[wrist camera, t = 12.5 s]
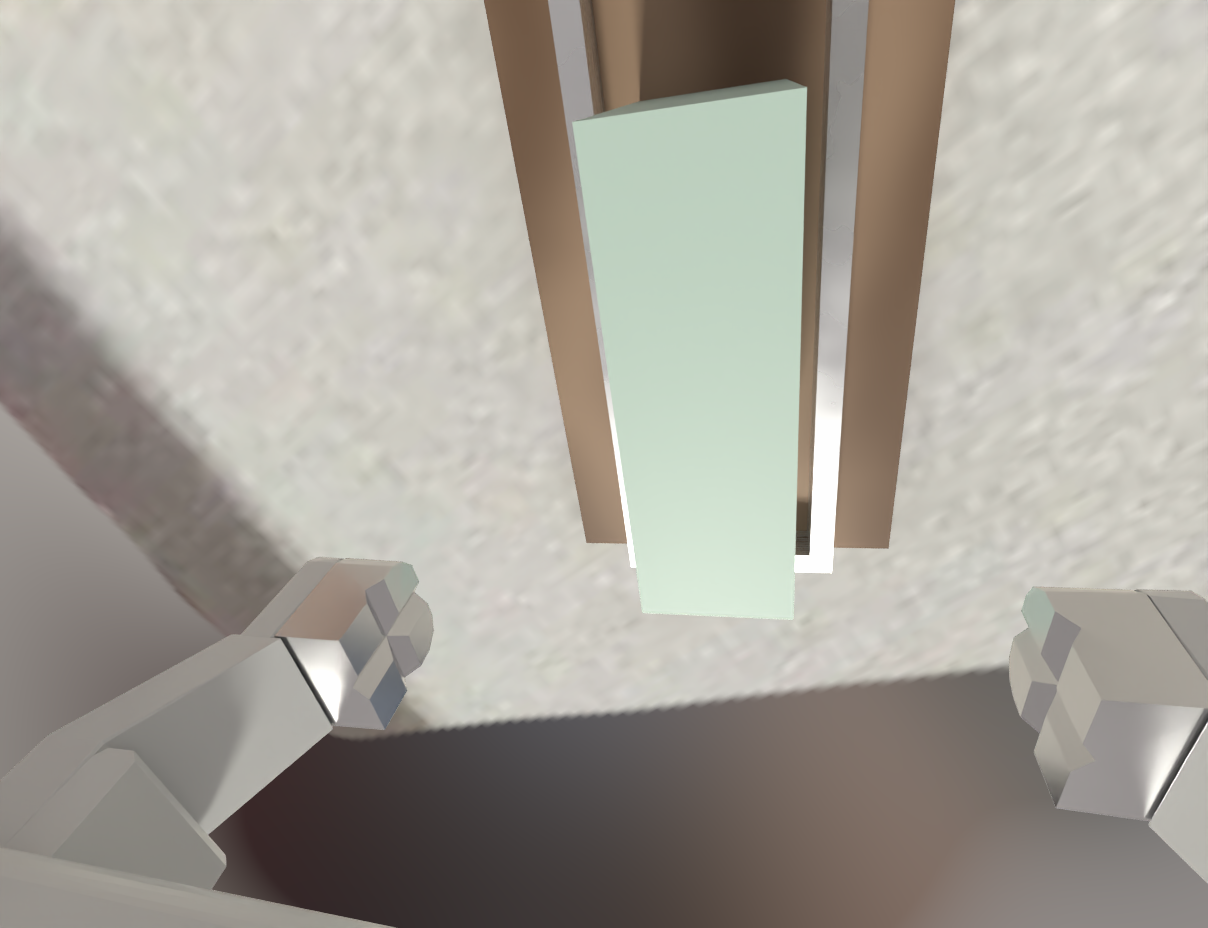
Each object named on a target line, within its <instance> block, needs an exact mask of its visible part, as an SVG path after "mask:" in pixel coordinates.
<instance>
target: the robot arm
mask: <svg viewBox="0 0 1208 928" xmlns="http://www.w3.org/2000/svg"><path fill="white" fill-rule="evenodd" d="M418 583H419V580H418V578H417V576H416V574H415V571H414V569H413V567H412V565H410V564H407V563H404V562H399V561H384V560H369V559H353V558H346V559H341V558H328V557H317V558H315V559H312V560H310V561H307V562H306V563H305V565H304V566H303V567H302V568H301V569H300V570H299V571H298V572H297V573H296V575H295V576H294V577H293V578H292V579H291V580H290V581H289V582H288V583H287V584H286V586H285V587H284V588H283V589H282V590H281V591H280V592H279V593H278V594H277V595H276V597H275V598H274V599H273V600H272V601H271V602H270V603H269V604H268V605H267V606H266V608H265V609H264V610H263V611H262V612H261V613H260V614H259V615H258V616H257V617H256V619H255V620H254V621H253V622H252V623H251V624H250V625H249V626H248V627H247V628H246V630H245V631H244V632H243V633H242V634H241V635H230V636H228V637H226V638H224V639H223V640H221V641H219V642H217V643H215V644H213V645H212V646H210V647H208V648H206V649H204V650H203V651H201V652H199V653H197V654H195V655H193V656H192V657H190V658H188V659H186V660H184V661H182V662H181V663H179V664H177V665H175V666H173V667H171V668H170V669H168V670H166V671H164V672H162V673H161V674H159V675H157V676H155V677H153V678H152V679H150V680H148V681H146V682H144V683H142V684H141V685H139V686H137V687H135V688H133V689H131V690H130V691H128V692H126V693H124V694H122V695H121V696H119V697H117V698H115V699H113V700H111V701H110V702H108V703H106V704H104V705H102V706H100V707H99V708H97V709H95V710H93V711H92V712H90V713H88V714H86V715H84V716H82V717H80V718H78V719H77V720H75V721H73V722H71V723H69V724H67V725H66V726H64V727H62V728H60V729H58V730H57V731H55V732H53V733H51V734H50V735H48V736H47V737H46V738H45V739H43V740H42V741H41V742H40V743H39V744H38V745H37V746H36V747H35V748H34V749H33V750H32V751H31V752H30V753H29V754H28V755H27V756H26V757H24V758H23V760H21V761H20V762H19V763H18V764H17V765H16V766H15V767H14V768H13V769H12V770H11V771H10V772H9V773H8V774H7V775H6V776H5V777H4V778H2V780H0V928H394V927H390V926H385V925H380V924H375V923H370V922H365V921H360V920H355V919H351V918H346V917H341V916H336V915H331V914H326V913H321V912H316V911H312V910H306V909H302V908H297V907H292V906H287V905H283V904H278V903H273V902H267V901H263V900H258V899H253V898H248V897H244V896H239V895H234V894H229V893H224V892H219V891H214V890H211V889H212V888H213V886H214V885H215V883H216V881H217V880H218V878H219V877H220V875H221V874H222V872H223V870H224V869H225V867H226V855H225V854H224V853H223V852H222V851H221V849H220V848H219V847H218V846H217V845H216V844H215V843H214V841H213V840H212V839H211V838H210V837H209V836H208V834H209V833H210V832H212V831H213V830H214V829H215V828H216V827H217V826H219V825H220V824H221V823H222V822H223V821H224V820H226V819H227V818H228V817H229V816H231V815H232V814H233V813H234V812H235V811H236V810H238V809H239V808H240V807H241V806H242V805H244V804H245V803H246V802H247V801H248V800H249V799H251V798H252V797H253V796H254V795H255V794H256V793H258V792H259V791H260V790H261V789H262V788H264V787H265V786H266V785H267V784H268V783H270V782H271V781H272V780H273V779H274V778H275V777H276V776H278V775H279V774H280V773H281V772H282V771H284V770H285V769H286V768H287V767H288V766H290V765H291V764H292V763H293V762H294V761H295V760H297V759H298V758H299V757H300V756H301V755H303V754H304V753H305V752H306V751H307V750H308V749H310V748H311V747H312V746H313V745H314V744H315V743H317V742H318V741H319V740H320V739H321V738H323V737H324V736H325V735H326V734H327V733H329V732H330V731H331V730H332V729H333V727H332V725H333V726H345V727H357V728H369V729H381V730H385V729H386V727H387V725H388V724H389V722H390V720H391V718H392V716H393V715H394V713H395V711H396V709H397V708H398V706H399V704H400V702H401V701H402V699H403V697H404V695H405V693H406V692H407V687H406V681H405V677H406V676H407V675H409V674H410V673H411V672H413V671H414V670H416V669H417V668H418V667H420V666H421V665H422V663H423V661H424V659H425V657H426V655H427V654H428V652H429V650H430V645H431V641H432V636H433V631H434V629H433V618H432V614H431V611H430V608H429V606H428V603H426V602H425V601H424V600H423V599H422V598H421V597H420V596H418V595H417V594H416V593H415V590H416V587H417V585H418ZM1022 613H1023V615H1024V618H1025V620H1026V622H1027V624H1028V627H1029V628H1027V629H1026V630H1024V631H1023V632H1021V633H1020V634H1018V635H1017V636H1015V637H1014V639H1013V643H1012V647H1011V651H1010V656H1009V678H1010V684H1011V689H1012V694H1013V698H1014V701H1015V703H1016V706H1017V709H1018V712H1019V714H1020V717H1021V718H1023V720H1025V721H1026V722H1027V723H1028V724H1029V725H1030V726H1032V727H1033V728H1034V729H1035V730H1036V731H1038V732H1039V733H1040V735H1039V738H1038V741H1037V744H1036V747H1035V750H1034V754H1035V756H1036V759H1037V761H1038V764H1039V766H1040V769H1041V771H1042V774H1043V777H1044V779H1045V782H1046V784H1047V787H1048V789H1049V792H1050V795H1051V797H1052V800H1053V802H1054V804H1055V807H1056V808H1059V809H1066V810H1073V811H1080V812H1087V813H1094V814H1101V815H1108V816H1115V817H1123V818H1130V819H1137V820H1144V821H1150V823H1149V826H1150V827H1151V828H1152V829H1153V830H1154V831H1155V832H1156V833H1157V834H1158V835H1159V836H1160V837H1161V838H1162V839H1163V840H1164V841H1165V842H1166V843H1167V844H1168V845H1169V846H1170V847H1171V848H1172V849H1173V850H1174V851H1175V852H1176V853H1177V854H1178V855H1179V856H1180V857H1181V858H1182V859H1183V860H1184V861H1185V862H1186V863H1187V864H1188V865H1189V866H1190V867H1192V869H1193V870H1194V871H1195V872H1197V873H1198V875H1200V876H1201V877H1202V878H1203V879H1204V880H1205V881H1206V882H1207V883H1208V602H1207V601H1206V600H1205V599H1204V598H1203V597H1201V596H1200V595H1198V594H1196V593H1194V592H1193V591H1180V590H1141V589H1137V590H1134V591H1133V590H1123V589H1093V588H1062V587H1033V588H1032V589H1031V590H1030V591H1029V592H1028V594H1027V595H1026V598H1025V601H1024V604H1023V607H1022Z"/></svg>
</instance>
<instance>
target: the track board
mask: <svg viewBox="0 0 1208 928" xmlns="http://www.w3.org/2000/svg"><path fill="white" fill-rule="evenodd" d="M826 2H827V0H592V8H593V16H594V25H595V33H596V42H597V50H598V59H599V67H600V76H601V84H602V92H603V101H604V109H605V112H606V111H609V110H613V109H616V108H619V107H622V106H626V105H629V104H632V103H635V102H638V101H644V100H651V99H657V98H664V97H670V96H677V95H683V94H690V93H696V92H703V91H710V90H716V89H723V88H729V87H736V86H742V85H749V84H756V83H762V82H769V81H775V80H782V79H788V80H790V81H793V82H795V83H798V84H800V85H803V86H805V87H807V110H806V150H805V189H804V229H803V269H802V309H801V349H800V388H799V428H798V468H797V508H796V531H807V517H808V490H809V463H810V436H811V409H812V382H813V355H814V328H815V301H816V273H817V246H818V219H819V192H820V165H821V138H822V111H823V84H824V56H825V29H826ZM484 3H485V8H486V14H487V19H488V24H489V30H490V35H491V40H492V45H493V51H494V56H495V61H496V67H497V72H498V77H499V82H500V88H501V93H502V98H503V104H504V109H505V114H506V119H507V125H508V130H509V135H510V141H511V146H512V151H513V156H514V162H515V167H516V172H517V177H518V183H519V188H520V193H521V199H522V204H523V209H524V214H525V220H526V225H527V230H528V236H529V241H530V246H531V251H532V257H533V262H534V267H535V273H536V278H537V283H538V288H539V294H540V299H541V304H542V310H543V315H544V320H545V325H546V331H547V336H548V341H549V347H550V352H551V357H552V362H553V368H554V373H555V378H556V383H557V389H558V394H559V399H560V405H561V410H562V415H563V420H564V426H565V431H566V436H567V442H568V447H569V452H570V457H571V463H572V468H573V473H574V479H575V484H576V489H577V494H578V500H579V505H580V510H581V516H582V521H583V526H584V531H585V537H586V542H587V543H626V544H628V541H627V534H626V528H625V521H624V514H623V507H622V500H621V494H620V487H619V480H618V473H617V466H616V460H615V453H614V446H613V439H612V432H611V426H610V419H609V412H608V405H607V398H606V392H605V385H604V378H603V371H602V364H601V358H600V351H599V344H598V337H597V330H596V324H595V317H594V310H593V303H592V297H591V290H590V283H589V276H588V269H587V263H586V256H585V249H584V242H583V235H582V229H581V222H580V215H579V208H578V201H577V195H576V188H575V181H574V174H573V167H572V161H571V154H570V147H569V140H568V133H567V127H566V120H565V113H564V106H563V99H562V93H561V86H560V79H559V72H558V65H557V59H556V52H555V45H554V38H553V31H552V25H551V18H550V11H549V4H548V0H484ZM954 5H955V0H869V6H868V22H867V37H866V52H865V68H864V83H863V99H862V114H861V130H860V145H859V160H858V176H857V191H856V207H855V222H854V238H853V253H852V268H851V284H850V299H849V315H848V330H847V346H846V361H845V376H844V392H843V407H842V423H841V438H840V454H839V469H838V484H837V500H836V515H835V531H834V546H833V547H836V548H889V539H890V531H891V523H892V515H893V506H894V498H895V490H896V482H897V474H898V465H899V457H900V449H901V441H902V433H903V424H904V416H905V408H906V400H907V391H908V383H909V375H910V367H911V359H912V350H913V342H914V334H915V326H916V318H917V309H918V301H919V293H920V285H921V277H922V268H923V260H924V252H925V244H926V235H927V227H928V219H929V211H930V203H931V194H932V186H933V178H934V170H935V162H936V153H937V145H938V137H939V129H940V120H941V112H942V104H943V96H944V88H945V79H946V71H947V63H948V55H949V47H950V38H951V30H952V22H953V14H954Z"/></svg>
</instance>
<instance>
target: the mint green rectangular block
mask: <svg viewBox="0 0 1208 928" xmlns="http://www.w3.org/2000/svg"><path fill="white" fill-rule="evenodd" d="M806 110H807V87H805V86H803V85H800V84H798V83H795V82H793V81H790V80H788V79H782V80H775V81H769V82H762V83H756V84H749V85H742V86H736V87H729V88H723V89H716V90H710V91H703V92H696V93H690V94H683V95H677V96H670V97H664V98H657V99H651V100H644V101H638V102H635V103H632V104H629V105H626V106H622V107H619V108H616V109H613V110H609V111H606V112H603V113H600V114H596V115H593V116H590V117H587V118H584V119H580V120H577V121H574V122H572V124H573V131H574V138H575V145H576V152H577V159H578V166H579V173H580V180H581V187H582V194H583V201H584V208H585V215H586V222H587V229H588V236H589V243H590V250H591V257H592V264H593V271H594V278H595V285H596V292H597V299H598V306H599V313H600V320H601V327H602V334H603V341H604V348H605V355H606V362H607V369H608V376H609V383H610V390H611V397H612V404H613V411H614V418H615V425H616V432H617V439H618V446H619V453H620V460H621V467H622V474H623V481H624V488H625V495H626V502H627V509H628V516H629V523H630V530H631V537H632V544H633V551H634V558H635V565H636V572H637V579H638V586H639V593H640V600H641V607H642V613H655V614H677V615H699V616H721V617H743V618H765V619H787V620H794V588H795V548H796V508H797V468H798V428H799V388H800V349H801V309H802V269H803V229H804V189H805V150H806Z"/></svg>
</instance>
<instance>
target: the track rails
mask: <svg viewBox="0 0 1208 928" xmlns="http://www.w3.org/2000/svg"><path fill="white" fill-rule="evenodd" d="M548 4H549V11H550V18H551V25H552V31H553V38H554V45H555V52H556V59H557V65H558V72H559V79H560V86H561V93H562V99H563V106H564V113H565V120H566V127H567V133H568V140H569V147H570V154H571V161H572V167H573V174H574V181H575V188H576V195H577V201H578V208H579V215H580V222H581V229H582V235H583V242H584V249H585V256H586V263H587V269H588V276H589V283H590V290H591V297H592V303H593V310H594V317H595V324H596V330H597V337H598V344H599V351H600V358H601V364H602V371H603V378H604V385H605V392H606V398H607V405H608V412H609V419H610V426H611V432H612V439H613V446H614V453H615V460H616V466H617V473H618V480H619V487H620V494H621V500H622V507H623V514H624V521H625V528H626V534H627V541H628V548H629V555H630V562H631V567H636V565H635V558H634V551H633V544H632V537H631V530H630V523H629V516H628V509H627V502H626V495H625V488H624V481H623V474H622V467H621V460H620V453H619V446H618V439H617V432H616V425H615V418H614V411H613V404H612V397H611V390H610V383H609V376H608V369H607V362H606V355H605V348H604V341H603V334H602V327H601V320H600V313H599V306H598V299H597V292H596V285H595V278H594V271H593V264H592V257H591V250H590V243H589V236H588V229H587V222H586V215H585V208H584V201H583V194H582V187H581V180H580V173H579V166H578V159H577V152H576V145H575V138H574V131H573V124H572V122H574V121H577V120H580V119H584V118H587V117H590V116H593V115H596V114H600V113H603V112H605V109H604V101H603V92H602V84H601V76H600V67H599V59H598V50H597V42H596V33H595V25H594V16H593V8H592V0H548ZM868 6H869V0H827V2H826V29H825V56H824V84H823V111H822V138H821V165H820V192H819V219H818V246H817V273H816V301H815V328H814V355H813V382H812V409H811V436H810V463H809V490H808V517H807V531H796V548H795V572H816V573H832V562H833V546H834V531H835V515H836V500H837V484H838V469H839V454H840V438H841V423H842V407H843V392H844V376H845V361H846V346H847V330H848V315H849V299H850V284H851V268H852V253H853V238H854V222H855V207H856V191H857V176H858V160H859V145H860V130H861V114H862V99H863V83H864V68H865V52H866V37H867V22H868Z"/></svg>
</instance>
